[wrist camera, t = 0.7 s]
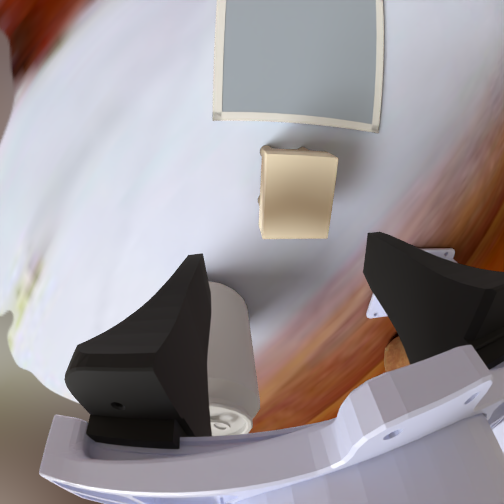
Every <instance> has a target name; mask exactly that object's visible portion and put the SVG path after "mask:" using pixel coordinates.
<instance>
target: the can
mask: <svg viewBox="0 0 504 504" xmlns="http://www.w3.org/2000/svg"><path fill="white" fill-rule="evenodd" d="M208 282H209V286H210V291H211V310H212V313H211V324H210V334H209V345H208V357H207V373H208V394H209V409H210V421H211V431H212V436H227V435H239V434H247V433H249V431H250V430H251V428H252V427H253V423H252V419H253V418H254V417H255V415H256V414H257V412H258V411H259V409H260V398H259V391H258V384H257V376H256V369H255V361H254V354H253V346H252V339H251V331H250V323H249V316H248V308H247V306H246V304H245V302H244V300H243V298H242V297H241V296H240V295H239V294H238V293H237V292H236V291H235V290H234V289H232V288H230V287H227V286H225V285H223V284H221V283H216V282H210V281H208Z"/></svg>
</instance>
